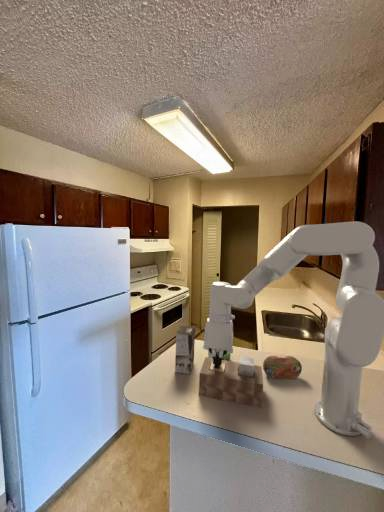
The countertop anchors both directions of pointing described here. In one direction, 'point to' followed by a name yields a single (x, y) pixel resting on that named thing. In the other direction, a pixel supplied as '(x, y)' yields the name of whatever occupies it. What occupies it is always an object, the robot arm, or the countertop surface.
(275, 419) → the countertop surface
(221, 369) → the beech peg
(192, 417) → the countertop surface
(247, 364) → the metal peg
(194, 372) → the countertop surface
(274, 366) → the tin
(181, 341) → the coffee box
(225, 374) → the sleeve block
